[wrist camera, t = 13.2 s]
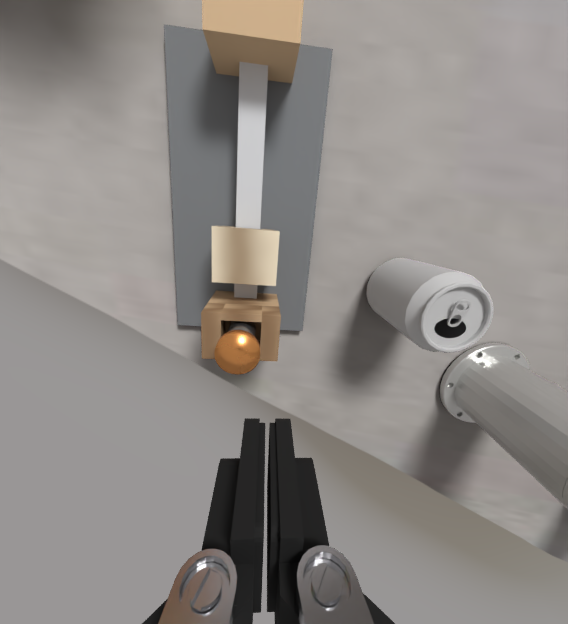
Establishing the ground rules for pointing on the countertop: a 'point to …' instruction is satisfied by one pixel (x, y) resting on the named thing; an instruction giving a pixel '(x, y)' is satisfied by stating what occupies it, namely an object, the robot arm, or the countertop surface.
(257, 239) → the carriage
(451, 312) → the can
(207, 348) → the end block
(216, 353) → the plunger
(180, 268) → the rail base
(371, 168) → the countertop surface
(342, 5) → the countertop surface
